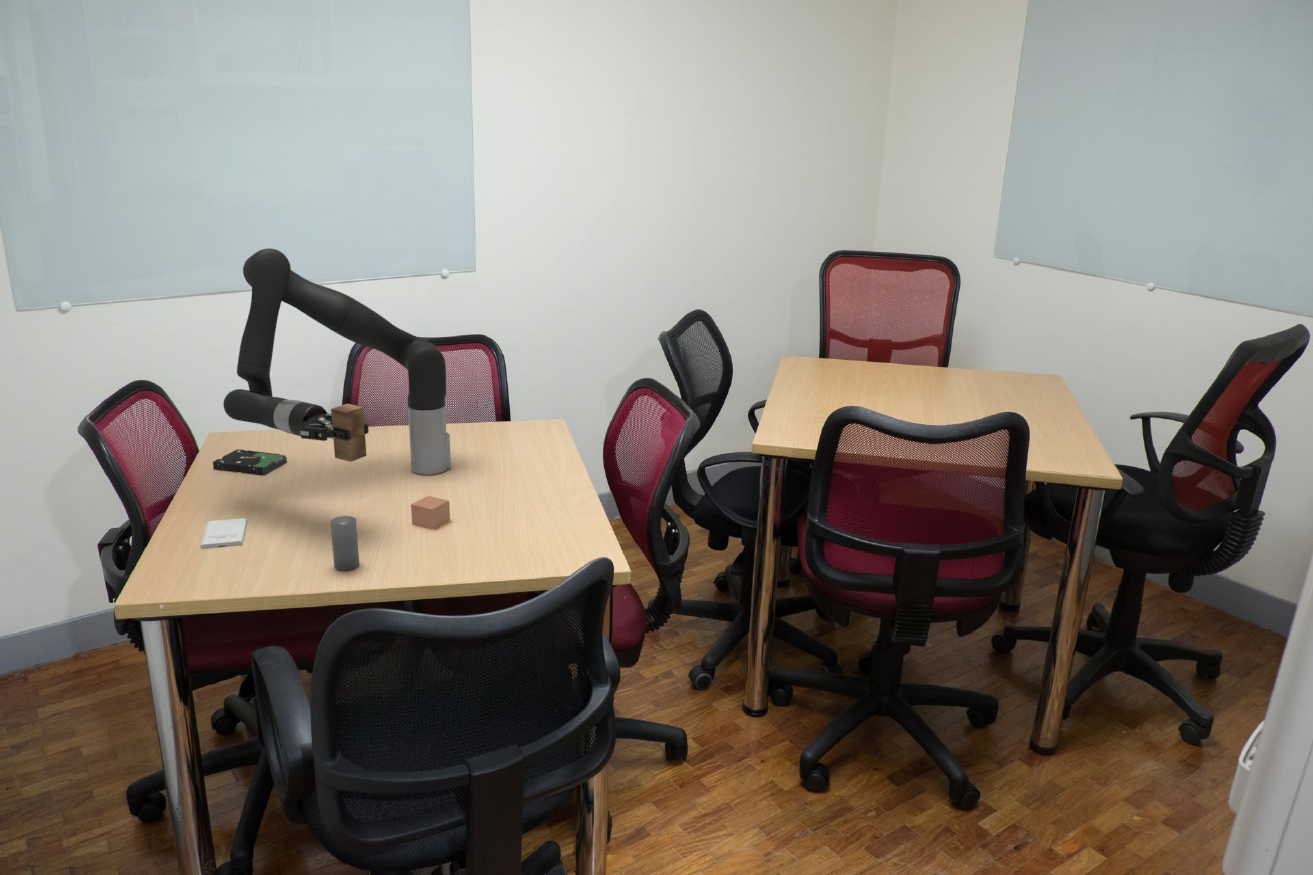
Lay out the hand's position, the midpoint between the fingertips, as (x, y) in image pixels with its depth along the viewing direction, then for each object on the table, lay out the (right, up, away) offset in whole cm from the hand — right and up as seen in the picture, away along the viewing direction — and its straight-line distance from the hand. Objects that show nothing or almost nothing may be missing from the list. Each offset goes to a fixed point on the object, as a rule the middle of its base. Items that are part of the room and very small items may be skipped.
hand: (358, 432), depth 213 cm
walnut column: (-3, -5, +3) cm, 7 cm away
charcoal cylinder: (0, -27, -6) cm, 28 cm away
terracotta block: (+12, -20, +15) cm, 28 cm away
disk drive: (-41, -9, +46) cm, 63 cm away
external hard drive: (-31, -23, +6) cm, 39 cm away
